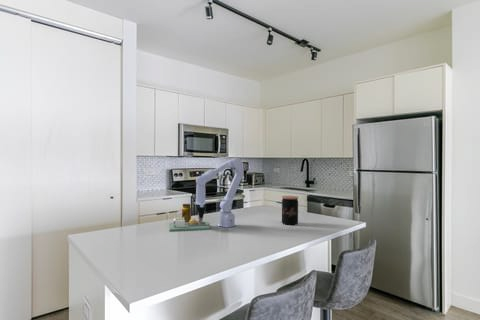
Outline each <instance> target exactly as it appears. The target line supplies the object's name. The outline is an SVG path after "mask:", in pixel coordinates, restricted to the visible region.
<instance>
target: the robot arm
mask: <svg viewBox="0 0 480 320" xmlns="http://www.w3.org/2000/svg"><path fill="white" fill-rule="evenodd" d="M229 168H232V169H233V171H234V173H235V174H234V177H233V179H232V180H231V183H230V186H229V187H228V189H227V192H226V195H224V197H223V198H222V199H223V200H221V202H220V203H219V207H220V210H219V223H218V224H216V225H217V226H218V227H219V226H220V227H223V228H226V229H227V228H231V227H235V226H236V224H235V221H236V220H235V219H236V217H235V214H234V213H233V212H232V207H233V203H234V202H233V201H234V197H235V195H236V193H237V191H238V189H239V186H240V183H241V181H242V179H243V177H244V174H245V173H244V163H243V161H242V159H241V158H239V157H236V158H234V157H233V158H231V159H229V160H227V161H225V162H223V163H222V164H221V165H219V166H218V167H216V168H215V169H212V168H211V169H207V171H205V172H204V173H201V174H200V175H199V176H197V177H196V179H195V183H196V185H195V186H196V188H195V190H196V191H195V201H194V203H193V204H194V205H195V207H196V211H197V213H198V212H199V218H203V219H204V215H205V210H206V208H207V207H206V206H205V205H206V204H207V203H206V183H209V182H210V181H212V180H213V179H215V178H216V177H217V174H219V173H221V172H223V171H224V170H226V169H229Z"/></svg>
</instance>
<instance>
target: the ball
mask: <svg viewBox="0 0 480 320" xmlns="http://www.w3.org/2000/svg"><path fill="white" fill-rule="evenodd" d="M196 222H197V220H196V219H195V218H191V220H190V221H189V223H190V225H191V224H195V223H196Z"/></svg>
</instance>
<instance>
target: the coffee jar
mask: <svg viewBox="0 0 480 320" xmlns="http://www.w3.org/2000/svg"><path fill="white" fill-rule="evenodd" d="M281 198H282V199H281V223H282V225H284V224H285V226H297V225H298V223H299V200H298V199H299V197H298V196H297V195H283V196H281Z"/></svg>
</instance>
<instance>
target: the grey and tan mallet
mask: <svg viewBox="0 0 480 320" xmlns="http://www.w3.org/2000/svg"><path fill="white" fill-rule="evenodd" d="M197 216H198V217H197V218H198V222H199V224H202V222H204V221H203V219H204V217H203V218H199V212H198V211H197Z"/></svg>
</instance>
